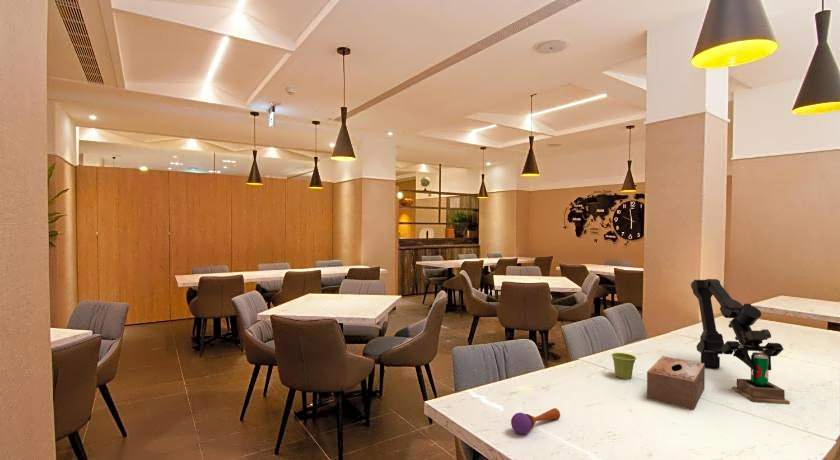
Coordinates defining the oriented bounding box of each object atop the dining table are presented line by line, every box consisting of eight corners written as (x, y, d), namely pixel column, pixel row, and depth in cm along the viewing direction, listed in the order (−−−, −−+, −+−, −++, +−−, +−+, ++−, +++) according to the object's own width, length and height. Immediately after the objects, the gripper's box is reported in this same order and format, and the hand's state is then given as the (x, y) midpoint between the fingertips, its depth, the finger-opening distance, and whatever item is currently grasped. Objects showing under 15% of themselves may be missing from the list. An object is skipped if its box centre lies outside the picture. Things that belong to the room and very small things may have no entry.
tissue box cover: (693, 410, 142) (694, 381, 142) (646, 399, 151) (647, 371, 151) (704, 389, 161) (704, 363, 161) (662, 380, 171) (662, 355, 171)
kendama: (565, 410, 133) (524, 421, 121) (561, 427, 133) (519, 440, 122) (550, 400, 138) (509, 410, 126) (546, 416, 138) (505, 428, 127)
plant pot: (635, 374, 176) (635, 354, 176) (636, 382, 168) (636, 360, 168) (611, 371, 180) (611, 351, 180) (611, 378, 172) (611, 357, 172)
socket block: (732, 389, 161) (732, 377, 161) (766, 391, 159) (766, 379, 159) (752, 401, 149) (752, 389, 149) (789, 404, 147) (789, 391, 147)
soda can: (769, 389, 151) (769, 357, 150) (751, 386, 153) (751, 354, 153) (767, 385, 155) (767, 353, 155) (749, 382, 158) (750, 351, 157)
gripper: (726, 320, 159) (744, 357, 148) (780, 321, 156) (802, 360, 146) (714, 335, 167) (730, 372, 156) (765, 337, 164) (785, 374, 154)
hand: (761, 369), depth 153 cm, fingers closed on soda can, 5 cm apart
